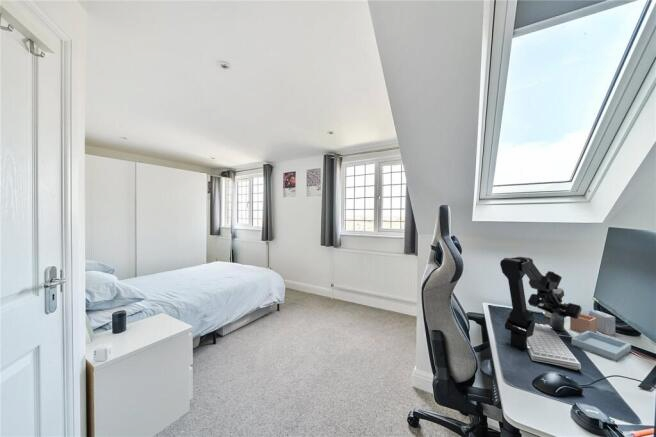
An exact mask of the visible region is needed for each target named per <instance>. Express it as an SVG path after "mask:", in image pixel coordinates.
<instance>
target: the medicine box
mask: <svg viewBox="0 0 656 437" xmlns="http://www.w3.org/2000/svg"><path fill="white" fill-rule="evenodd" d="M588 316H591V317H594V318H597V321H596V332H599V333H601V332H602V334H603V335H605V336H606V335H607V336H608V335H609V336H610V335H611V336H613V335H616V317H615V316H613V315H611V314H608V313H606V312H603V311H599V310H589V311H588Z"/></svg>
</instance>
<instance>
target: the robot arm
mask: <svg viewBox="0 0 656 437" xmlns="http://www.w3.org/2000/svg"><path fill="white" fill-rule="evenodd" d="M499 265H500V269H501V273H502V274H503V275H504V276H505V278H506V279H507V281H508V287H509V288H508V289H509V295H510V300H511V307H512V310H511V311H510V312H509V313H508V317H507V319H506V322H505V323H504V329H505V330H508V331H509V332H510V339H509V341H507V342H506V345H508V346H510V347H512V348H515V349H516V350H520V351H521V352H525V351H527V350H529V349H528V348H527V345H528V338H530V337H532V336H534V332H535V326H536V323H535V318H534V312H533V311H531V310H528V308H527V303H528V304H529V306H532V307H535V308H537V309H539V310H542V311H544V312H545V311H547V312H549V313H551V309H553V310H560V309H561V310H562V311H561V314H560V315H562V316H563V317H564V319H566V318H567V317H569V318H570V317H572V318H575V319H577V318H579V315H580V314H582V310H583V308H582V306H581V305H579V304H576V303H572V302H568V303H562V302H563V299H562V298H564V297H565V291H564V289H563V288H561V287H559V285H560V284H561V283H560V282H561V281H562V278H563V277H562V276H561V275H559V274H557V273H555V272H554V271H550V270H548V271H547V272H545V275H543V274H542V273H541V272H540V270H539V269H538V267H537V266H536V264H535V263H534V260H533V259H532V258H531V257H527V256H516V257H504V258H503V259H501V260H500V262H499ZM524 276H526V277H527V278H528V279H529V281H528V284H529V287H530V288H531V289H533V290H536V293H531V294H530V295H529V298H528V300H526V295H525V289H524V288H525V287H524V281H523V278H524ZM526 302H527V303H526ZM560 302H561V303H560Z"/></svg>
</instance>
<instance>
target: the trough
mask: <svg viewBox="0 0 656 437" xmlns="http://www.w3.org/2000/svg"><path fill="white" fill-rule="evenodd" d="M570 345H571V346H573V347H575V348H578V349H581V350H584V351H587V352H590V353H592V354H595V355H598V356H600V357H603V358H605V359H608V360H611V361H614V362H617V361H619V360H620V359H622V358H624V357H625V356H626V355H628V354H629V353H631V352H632V343H629V342H626V341H622V340H619V339H616V338H613V337H609V336H608V335H607V336H606V335H605V334H600V333H597V332H596V333H594V332H591V331H586V332H583V333H579V334H578V335H575V336H573V337H572V338H571V344H570Z"/></svg>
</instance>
